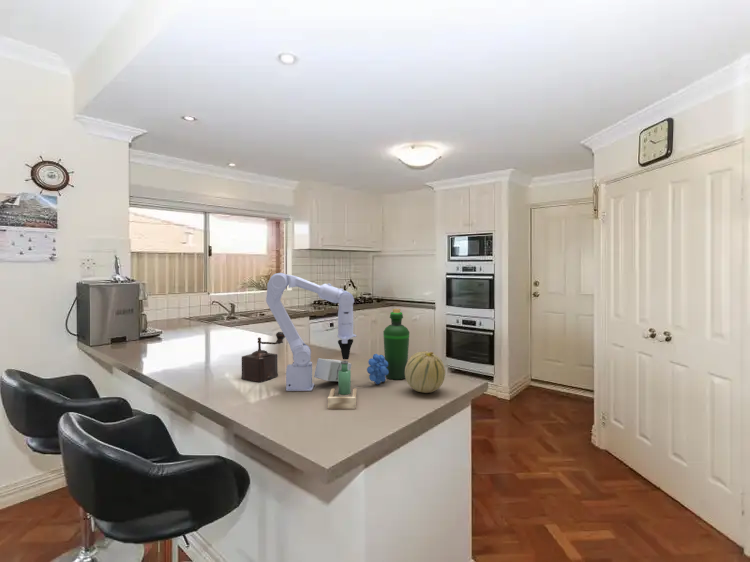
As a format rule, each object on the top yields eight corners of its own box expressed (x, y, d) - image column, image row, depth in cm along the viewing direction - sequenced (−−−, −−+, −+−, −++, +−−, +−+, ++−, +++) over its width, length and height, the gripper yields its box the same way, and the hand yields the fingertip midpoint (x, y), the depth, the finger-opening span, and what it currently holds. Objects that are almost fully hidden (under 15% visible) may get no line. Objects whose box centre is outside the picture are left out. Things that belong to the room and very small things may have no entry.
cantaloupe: (410, 384, 157) (411, 345, 156) (448, 388, 152) (449, 348, 151) (399, 395, 143) (399, 353, 143) (440, 400, 138) (440, 356, 137)
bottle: (409, 374, 171) (409, 308, 170) (409, 381, 160) (409, 310, 159) (384, 373, 172) (384, 307, 171) (382, 380, 161) (382, 310, 160)
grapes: (376, 389, 149) (376, 357, 149) (363, 386, 154) (363, 354, 154) (396, 383, 158) (396, 352, 158) (383, 379, 163) (383, 350, 162)
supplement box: (348, 382, 160) (327, 381, 150) (335, 377, 164) (313, 377, 154) (352, 363, 160) (331, 362, 151) (338, 359, 165) (317, 357, 155)
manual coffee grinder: (261, 383, 158) (261, 337, 157) (240, 379, 163) (240, 334, 162) (287, 373, 171) (287, 331, 171) (268, 370, 177) (267, 329, 176)
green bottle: (337, 394, 144) (337, 363, 143) (338, 391, 148) (338, 360, 148) (350, 394, 144) (350, 362, 143) (350, 391, 148) (350, 360, 148)
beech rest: (327, 408, 130) (327, 398, 129) (331, 395, 143) (331, 385, 143) (355, 408, 130) (355, 397, 130) (356, 395, 143) (356, 385, 143)
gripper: (355, 326, 146) (355, 363, 146) (356, 320, 160) (356, 354, 161) (336, 326, 146) (336, 363, 146) (338, 320, 160) (338, 354, 161)
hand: (345, 359), depth 153 cm, fingers closed
